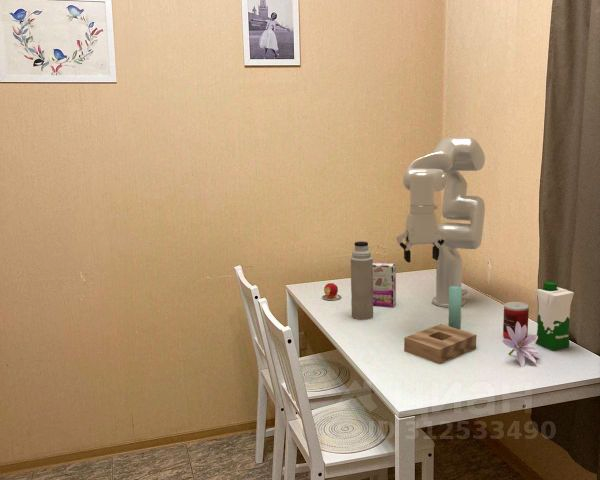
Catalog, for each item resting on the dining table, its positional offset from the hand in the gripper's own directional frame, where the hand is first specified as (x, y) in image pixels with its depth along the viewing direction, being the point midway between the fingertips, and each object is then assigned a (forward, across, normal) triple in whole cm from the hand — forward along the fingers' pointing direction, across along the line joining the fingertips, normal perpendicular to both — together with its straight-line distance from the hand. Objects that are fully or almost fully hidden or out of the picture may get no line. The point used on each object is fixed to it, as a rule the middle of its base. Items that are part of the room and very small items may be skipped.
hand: (421, 260), depth 207 cm
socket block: (+25, 0, +16) cm, 30 cm away
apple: (+26, +20, -47) cm, 57 cm away
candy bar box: (+26, +3, -33) cm, 42 cm away
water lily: (+26, -20, +30) cm, 44 cm away
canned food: (+26, -28, +13) cm, 40 cm away
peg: (+25, -10, +4) cm, 28 cm away
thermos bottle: (+26, +14, -22) cm, 36 cm away
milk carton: (+26, -35, +23) cm, 49 cm away
